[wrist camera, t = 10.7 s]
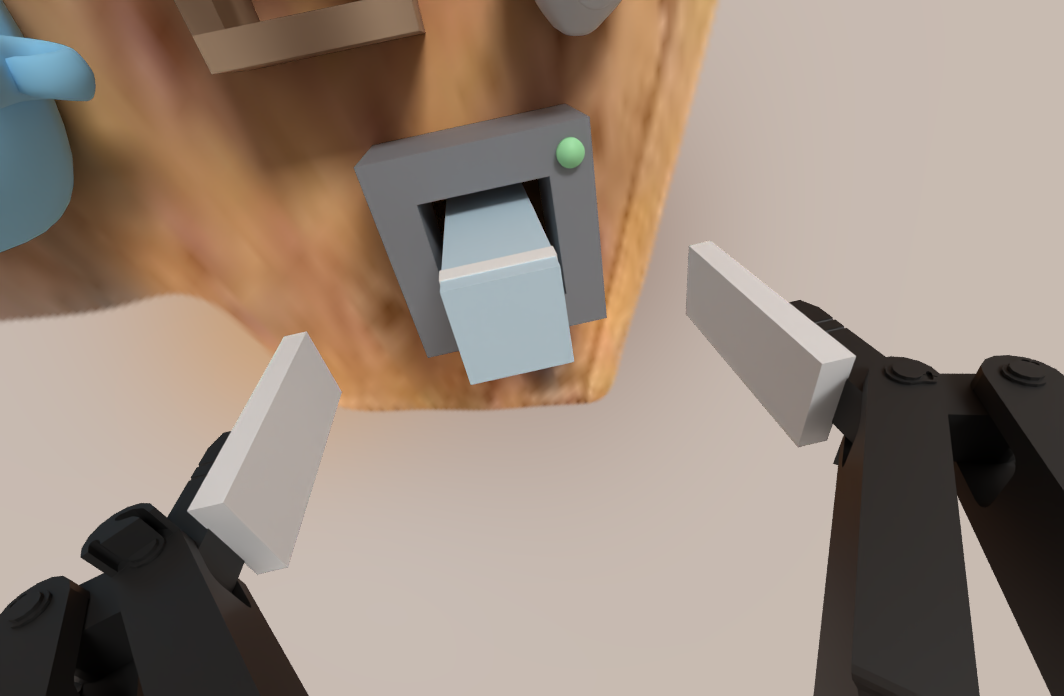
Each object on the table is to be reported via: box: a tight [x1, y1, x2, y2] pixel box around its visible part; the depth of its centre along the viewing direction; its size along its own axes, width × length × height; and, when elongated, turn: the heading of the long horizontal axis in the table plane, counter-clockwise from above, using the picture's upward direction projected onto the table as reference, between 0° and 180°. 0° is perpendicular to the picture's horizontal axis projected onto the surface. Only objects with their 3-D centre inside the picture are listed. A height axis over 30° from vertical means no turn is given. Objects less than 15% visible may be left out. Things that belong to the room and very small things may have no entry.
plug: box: [439, 182, 574, 385], centre depth 20 cm, size 4×4×12 cm
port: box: [354, 104, 607, 358], centre depth 23 cm, size 10×10×5 cm
